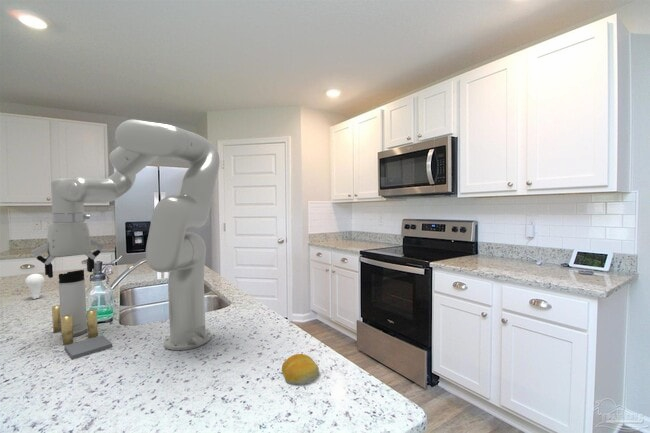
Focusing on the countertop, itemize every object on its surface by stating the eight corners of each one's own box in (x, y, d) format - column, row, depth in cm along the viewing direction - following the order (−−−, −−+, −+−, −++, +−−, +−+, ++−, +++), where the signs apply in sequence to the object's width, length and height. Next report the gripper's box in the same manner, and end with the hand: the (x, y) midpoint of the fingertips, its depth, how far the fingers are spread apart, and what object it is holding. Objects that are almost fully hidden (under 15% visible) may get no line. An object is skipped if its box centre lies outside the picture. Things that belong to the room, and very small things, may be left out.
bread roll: (288, 390, 67) (287, 371, 67) (279, 369, 76) (278, 353, 76) (324, 381, 70) (324, 364, 70) (312, 362, 79) (311, 347, 78)
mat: (112, 347, 88) (112, 343, 88) (72, 359, 82) (71, 355, 82) (102, 338, 94) (102, 335, 94) (64, 349, 88) (64, 345, 88)
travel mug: (74, 338, 94) (70, 272, 93) (56, 337, 96) (52, 272, 95) (93, 330, 101) (90, 268, 100) (76, 329, 102) (73, 267, 101)
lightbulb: (36, 301, 133) (34, 275, 132) (22, 301, 133) (20, 275, 132) (49, 296, 139) (47, 272, 138) (35, 297, 139) (34, 272, 138)
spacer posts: (99, 336, 96) (97, 310, 96) (63, 346, 90) (62, 318, 89) (84, 323, 107) (83, 300, 106) (52, 331, 100) (51, 306, 100)
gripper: (98, 217, 105) (100, 268, 106) (28, 219, 92) (30, 277, 93) (105, 218, 101) (107, 271, 101) (32, 220, 88) (34, 281, 88)
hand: (70, 274), depth 97 cm, fingers open, 9 cm apart
